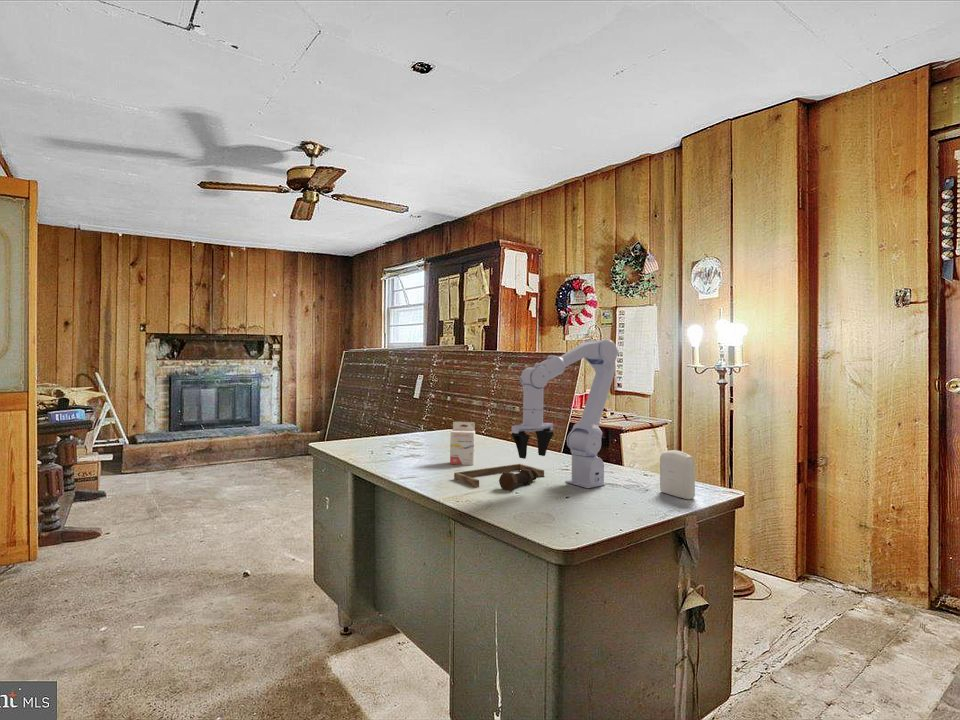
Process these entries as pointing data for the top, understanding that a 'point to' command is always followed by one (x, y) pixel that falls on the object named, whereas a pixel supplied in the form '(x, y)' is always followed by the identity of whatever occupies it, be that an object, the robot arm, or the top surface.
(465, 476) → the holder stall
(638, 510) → the top surface
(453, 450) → the ink cartridge box
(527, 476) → the bolt
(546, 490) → the top surface
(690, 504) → the top surface
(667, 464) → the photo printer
